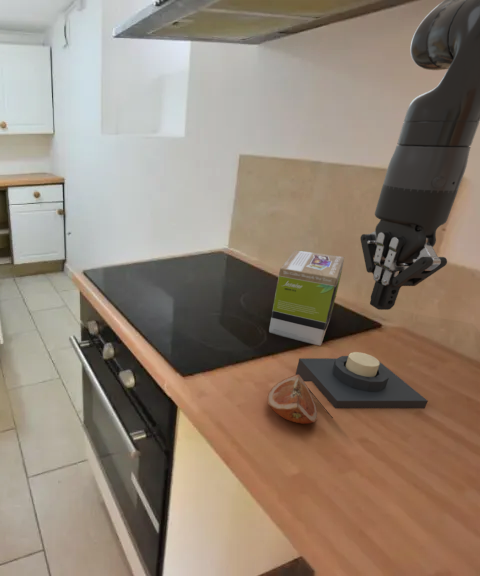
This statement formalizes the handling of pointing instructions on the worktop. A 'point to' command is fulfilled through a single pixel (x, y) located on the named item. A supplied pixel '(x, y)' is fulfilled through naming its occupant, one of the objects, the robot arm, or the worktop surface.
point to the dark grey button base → (357, 385)
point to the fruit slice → (293, 400)
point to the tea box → (306, 296)
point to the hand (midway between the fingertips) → (379, 307)
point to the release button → (362, 364)
